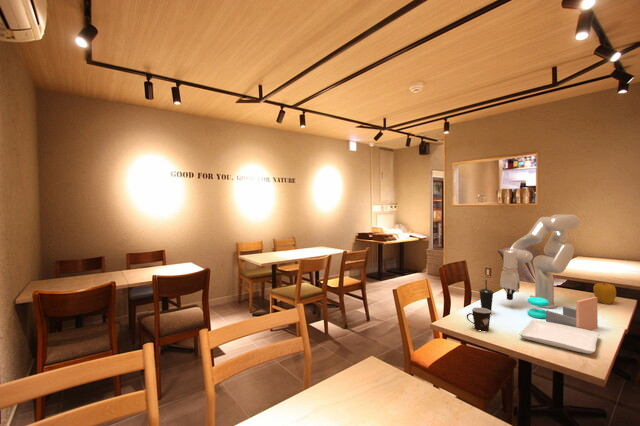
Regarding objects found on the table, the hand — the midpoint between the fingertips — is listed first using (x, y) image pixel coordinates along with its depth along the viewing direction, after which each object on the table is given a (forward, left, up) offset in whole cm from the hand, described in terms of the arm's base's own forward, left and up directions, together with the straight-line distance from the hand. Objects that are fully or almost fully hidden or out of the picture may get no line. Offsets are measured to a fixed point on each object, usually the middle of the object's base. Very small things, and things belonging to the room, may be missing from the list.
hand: (509, 299), depth 192 cm
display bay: (+32, +1, -5) cm, 33 cm away
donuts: (+16, +1, -6) cm, 17 cm away
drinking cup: (0, -21, -6) cm, 22 cm away
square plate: (+40, -22, -6) cm, 46 cm away
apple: (+20, +62, -6) cm, 65 cm away
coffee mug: (+14, -45, -6) cm, 48 cm away
